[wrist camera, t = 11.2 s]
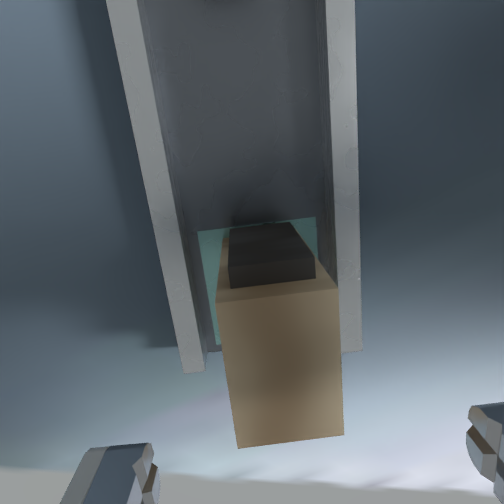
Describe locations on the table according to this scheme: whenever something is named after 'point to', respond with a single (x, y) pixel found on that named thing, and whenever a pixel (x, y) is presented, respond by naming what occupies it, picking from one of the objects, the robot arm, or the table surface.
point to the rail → (243, 141)
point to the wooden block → (279, 337)
